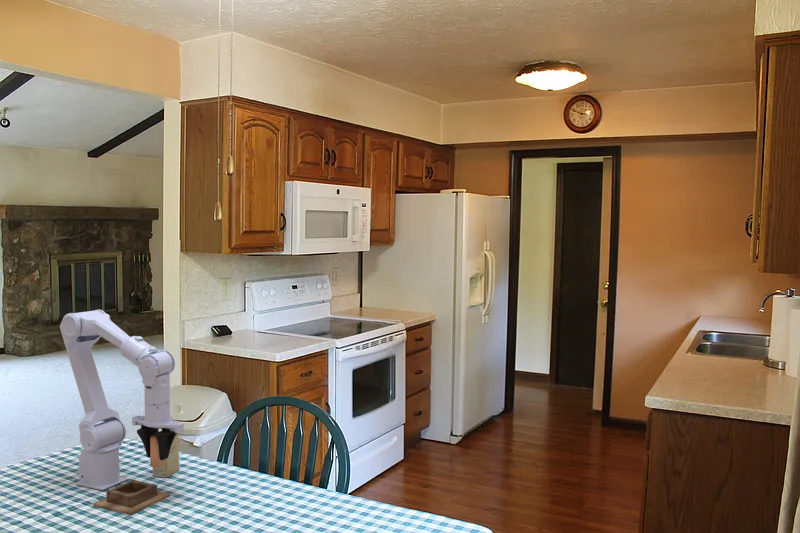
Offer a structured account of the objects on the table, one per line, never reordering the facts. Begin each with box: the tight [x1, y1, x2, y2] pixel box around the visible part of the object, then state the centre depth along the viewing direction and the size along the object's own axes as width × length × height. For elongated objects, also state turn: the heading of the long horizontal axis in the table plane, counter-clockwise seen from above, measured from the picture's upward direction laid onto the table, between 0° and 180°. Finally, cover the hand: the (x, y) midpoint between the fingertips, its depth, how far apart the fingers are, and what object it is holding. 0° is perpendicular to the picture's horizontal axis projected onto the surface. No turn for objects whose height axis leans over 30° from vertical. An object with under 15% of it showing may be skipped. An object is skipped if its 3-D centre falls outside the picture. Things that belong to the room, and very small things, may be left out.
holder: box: [92, 479, 171, 516], centre depth 157 cm, size 12×12×3 cm
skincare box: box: [152, 429, 180, 478], centre depth 175 cm, size 6×4×12 cm
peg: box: [149, 435, 166, 468], centre depth 160 cm, size 4×4×7 cm
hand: (157, 457), depth 160 cm, fingers closed on peg, 3 cm apart
